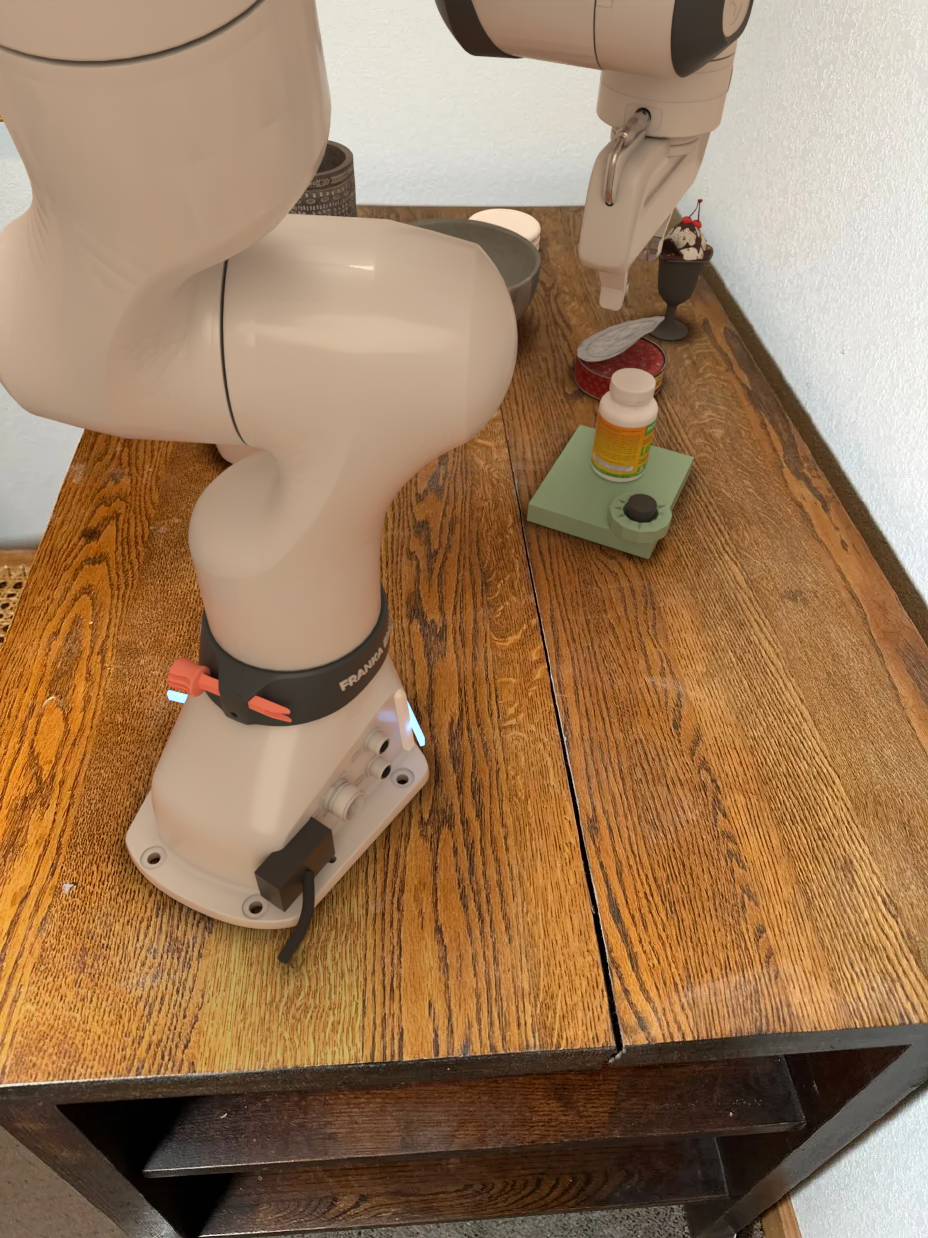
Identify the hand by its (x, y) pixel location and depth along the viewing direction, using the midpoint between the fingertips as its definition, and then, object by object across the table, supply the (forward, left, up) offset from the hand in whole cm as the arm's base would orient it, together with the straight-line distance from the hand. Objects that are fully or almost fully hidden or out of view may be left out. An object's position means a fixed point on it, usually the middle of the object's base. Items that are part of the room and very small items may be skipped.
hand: (630, 280), depth 75 cm
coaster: (+43, +28, -22) cm, 56 cm away
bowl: (+20, +25, -22) cm, 39 cm away
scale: (0, -2, -22) cm, 22 cm away
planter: (+29, +49, -22) cm, 61 cm away
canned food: (+20, +4, -22) cm, 30 cm away
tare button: (-5, -6, -19) cm, 20 cm away
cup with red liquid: (-9, +33, -22) cm, 41 cm away
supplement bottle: (+2, -1, -20) cm, 20 cm away
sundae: (+33, +2, -22) cm, 40 cm away
